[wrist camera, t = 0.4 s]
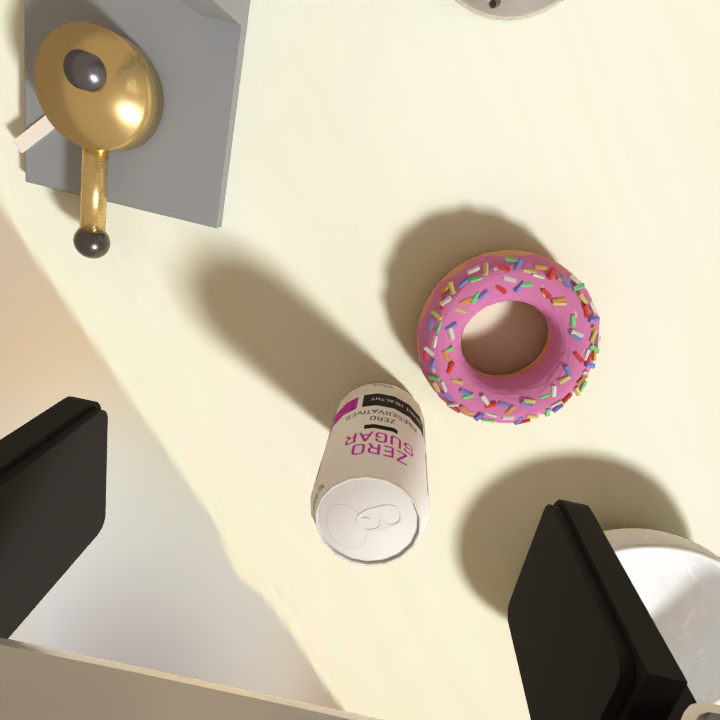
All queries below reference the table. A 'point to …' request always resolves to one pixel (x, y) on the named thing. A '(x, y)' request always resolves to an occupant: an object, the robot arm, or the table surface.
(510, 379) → the donut
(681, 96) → the table surface
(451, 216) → the table surface
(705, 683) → the serving bowl
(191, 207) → the stand
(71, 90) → the gold pan with handle
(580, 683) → the robot arm
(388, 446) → the white soda can
